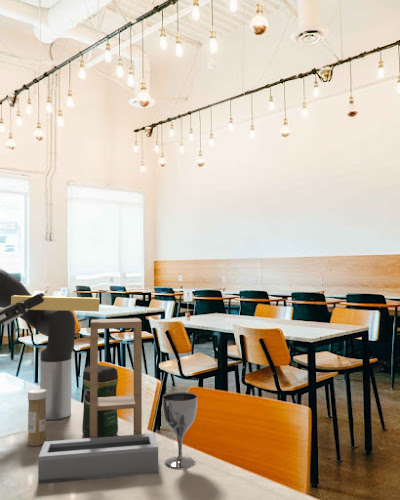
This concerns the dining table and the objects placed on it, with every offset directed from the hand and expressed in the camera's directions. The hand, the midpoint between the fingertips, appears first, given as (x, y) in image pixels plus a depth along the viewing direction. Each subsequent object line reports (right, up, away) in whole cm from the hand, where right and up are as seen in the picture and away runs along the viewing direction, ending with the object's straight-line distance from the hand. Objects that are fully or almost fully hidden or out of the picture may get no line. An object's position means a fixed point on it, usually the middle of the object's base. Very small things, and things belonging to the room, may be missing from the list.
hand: (42, 296), depth 107 cm
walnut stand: (+17, -38, +2) cm, 42 cm away
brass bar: (+3, -3, 0) cm, 4 cm away
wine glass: (+33, -38, -4) cm, 50 cm away
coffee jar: (+10, -39, +15) cm, 43 cm away
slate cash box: (+15, -38, -7) cm, 41 cm away
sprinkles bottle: (-5, -39, +9) cm, 40 cm away
